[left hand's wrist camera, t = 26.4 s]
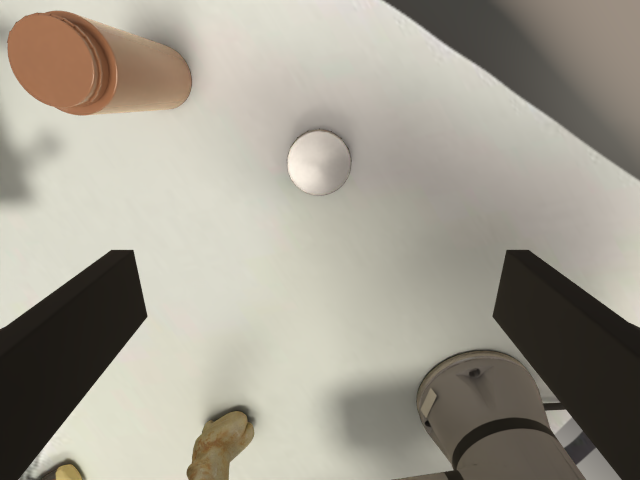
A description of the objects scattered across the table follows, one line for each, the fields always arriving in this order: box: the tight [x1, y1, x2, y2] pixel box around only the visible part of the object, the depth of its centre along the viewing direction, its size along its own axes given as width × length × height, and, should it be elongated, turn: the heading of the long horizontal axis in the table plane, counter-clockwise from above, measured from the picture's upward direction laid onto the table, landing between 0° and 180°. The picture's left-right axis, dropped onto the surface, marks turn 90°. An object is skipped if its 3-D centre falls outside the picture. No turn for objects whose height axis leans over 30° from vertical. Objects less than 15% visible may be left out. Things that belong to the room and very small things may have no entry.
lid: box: [287, 129, 351, 195], centre depth 35 cm, size 6×6×2 cm
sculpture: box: [187, 411, 254, 480], centre depth 42 cm, size 6×7×15 cm
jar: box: [7, 11, 192, 115], centre depth 26 cm, size 6×6×15 cm
